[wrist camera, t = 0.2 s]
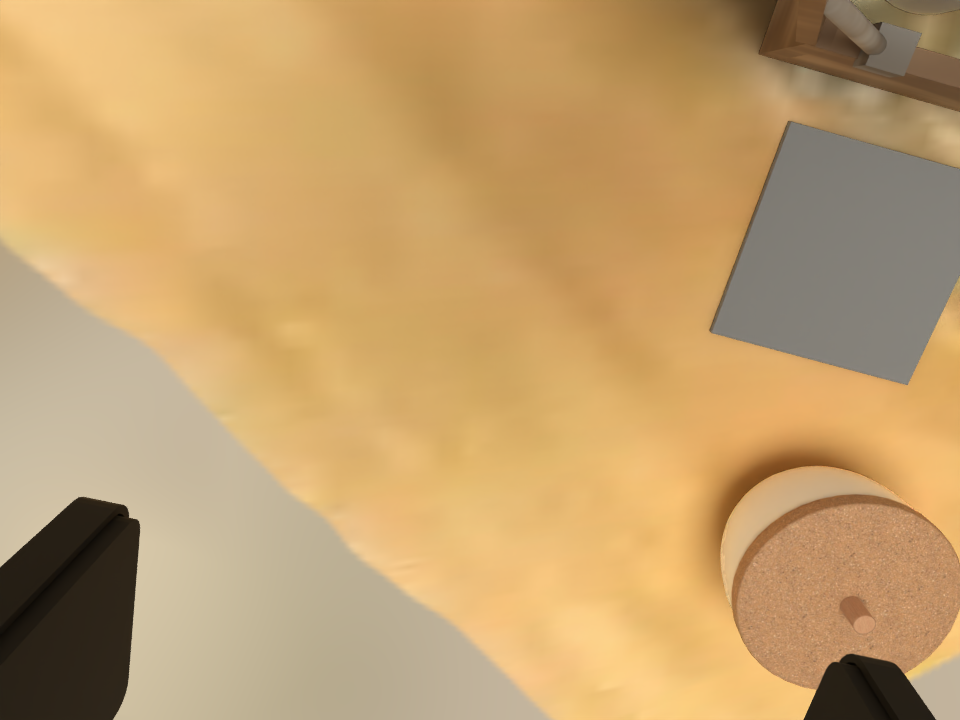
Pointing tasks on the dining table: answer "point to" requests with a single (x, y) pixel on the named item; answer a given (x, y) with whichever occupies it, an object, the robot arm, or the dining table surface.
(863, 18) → the case
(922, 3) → the cylindrical container
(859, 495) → the lidded jar
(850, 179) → the mat
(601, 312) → the dining table surface
